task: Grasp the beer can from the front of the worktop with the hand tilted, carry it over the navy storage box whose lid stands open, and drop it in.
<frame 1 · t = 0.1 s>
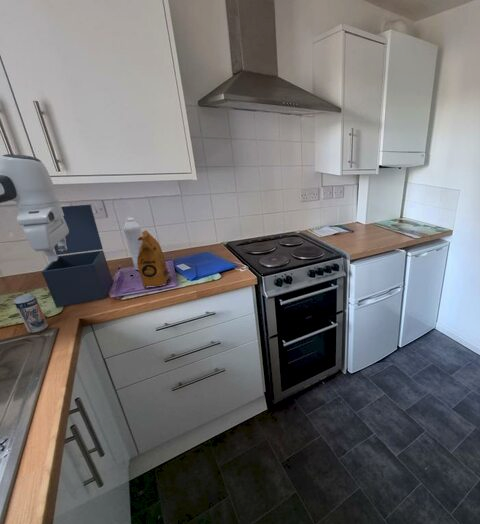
hand: (59, 255, 94), 23 cm above the worktop, tool pointing down, fingers open, 8 cm apart
coffee package: (156, 283, 129), on the worktop
box lid: (75, 229, 121), point 23 cm above the worktop, hinge at 100.0°
water bottle: (143, 269, 142), on the worktop
storage box: (87, 293, 120), on the worktop
beer can: (39, 329, 97), on the worktop
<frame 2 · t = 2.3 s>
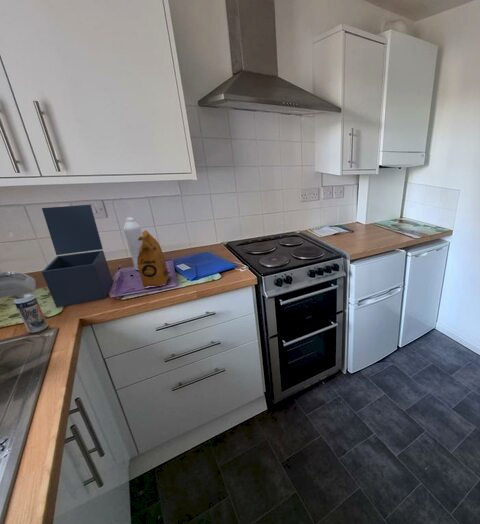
nothing on the worktop moved.
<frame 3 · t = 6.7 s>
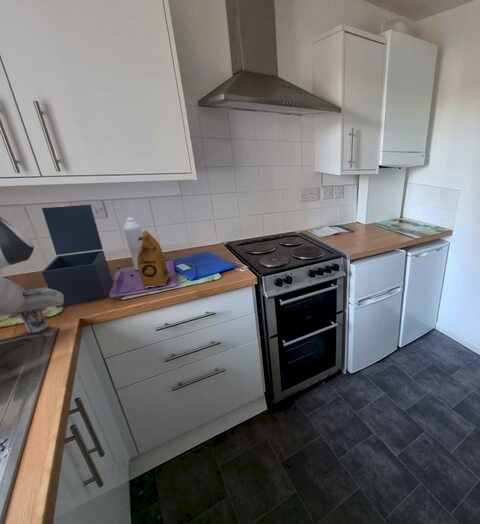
hand: (31, 310, 95), 7 cm above the worktop, tool tilted 45°, fingers closed on beer can, 5 cm apart
beer can: (39, 329, 97), on the worktop, touching gripper
everything else where it was.
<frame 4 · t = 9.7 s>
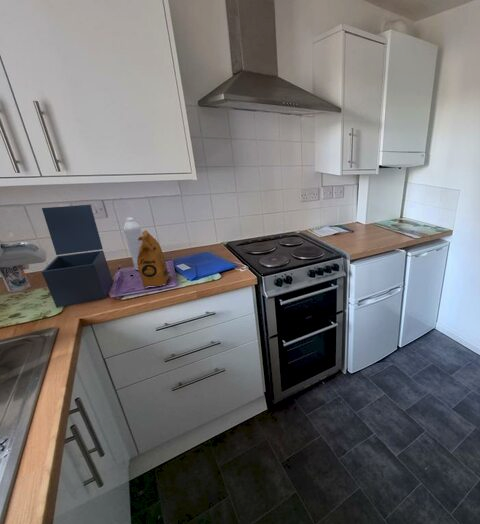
hand: (12, 268, 89), 21 cm above the worktop, tool tilted 45°, fingers closed on beer can, 5 cm apart
beer can: (20, 290, 91), point 14 cm above the worktop, touching gripper
everything else where it was.
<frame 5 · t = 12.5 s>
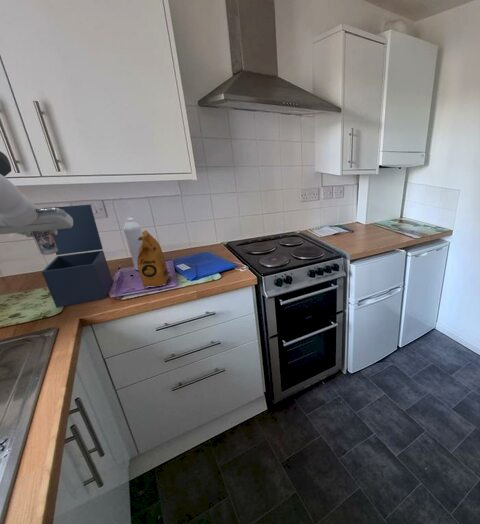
hand: (43, 234, 101), 27 cm above the worktop, tool tilted 45°, fingers closed on beer can, 5 cm apart
beer can: (49, 253, 103), point 21 cm above the worktop, touching gripper
everything else where it was.
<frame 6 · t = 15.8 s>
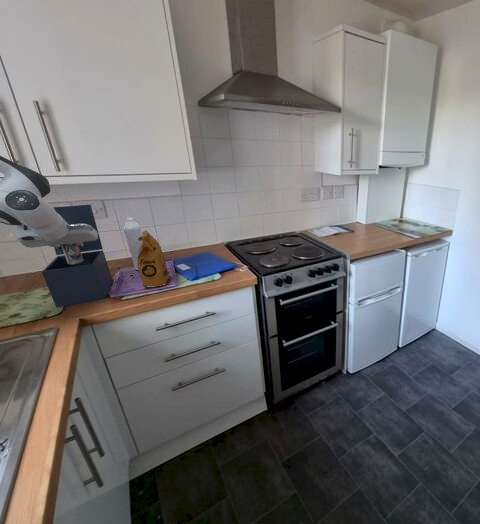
hand: (70, 246, 113), 20 cm above the worktop, tool tilted 45°, fingers closed on beer can, 5 cm apart
beer can: (76, 263, 115), point 13 cm above the worktop, touching gripper
everything else where it was.
when the fingers open (11 cm above the worktop, at t = 18.6 s): beer can drops 4 cm, resting on storage box.
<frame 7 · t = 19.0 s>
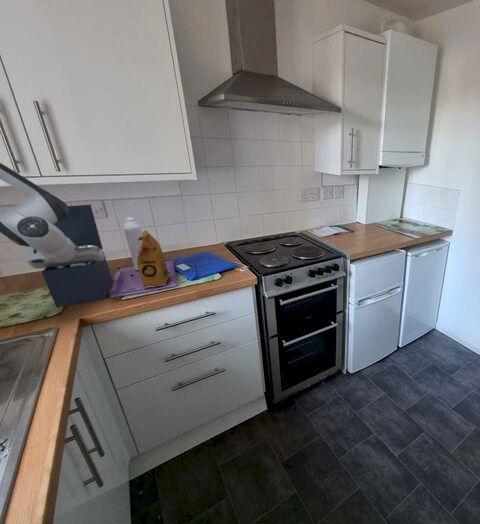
hand: (77, 265, 116), 12 cm above the worktop, tool tilted 45°, fingers open, 7 cm apart
beer can: (86, 291, 119), point 1 cm above the worktop, touching storage box
everything else where it was.
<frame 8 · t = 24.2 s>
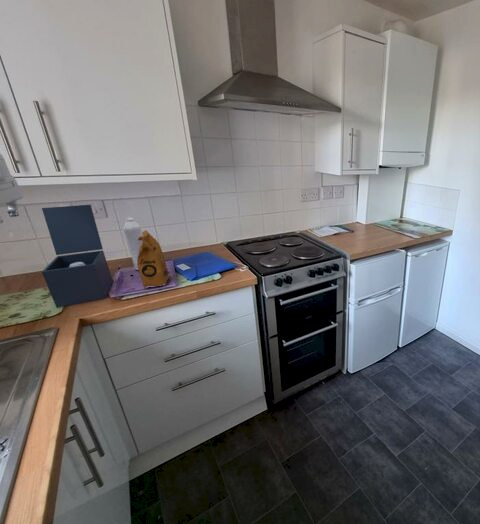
hand: (6, 219, 88), 35 cm above the worktop, tool pointing down, fingers open, 8 cm apart
nothing on the worktop moved.
at the end: beer can inside the target area in the storage box (0.1 cm from its centre), point 0.6 cm above the storage box's base; the gripper is holding nothing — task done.
